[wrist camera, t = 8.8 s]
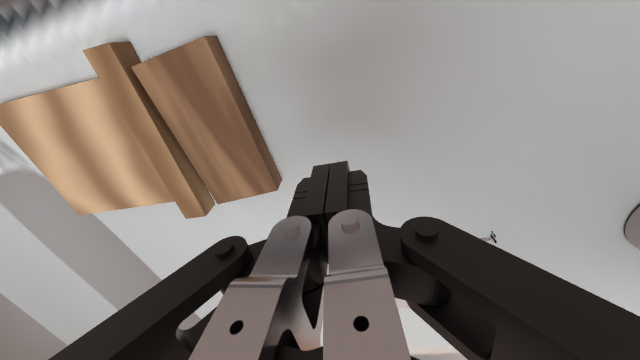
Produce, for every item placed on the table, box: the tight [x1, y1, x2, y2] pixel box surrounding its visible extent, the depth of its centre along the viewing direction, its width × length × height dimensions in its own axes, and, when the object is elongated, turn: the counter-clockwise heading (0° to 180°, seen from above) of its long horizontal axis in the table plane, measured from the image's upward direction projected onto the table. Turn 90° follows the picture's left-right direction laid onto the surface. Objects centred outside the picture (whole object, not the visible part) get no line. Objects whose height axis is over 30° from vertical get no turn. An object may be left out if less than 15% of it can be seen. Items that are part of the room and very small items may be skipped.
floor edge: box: [0, 42, 215, 219], centre depth 26 cm, size 16×17×2 cm
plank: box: [131, 36, 282, 204], centre depth 23 cm, size 2×14×7 cm
